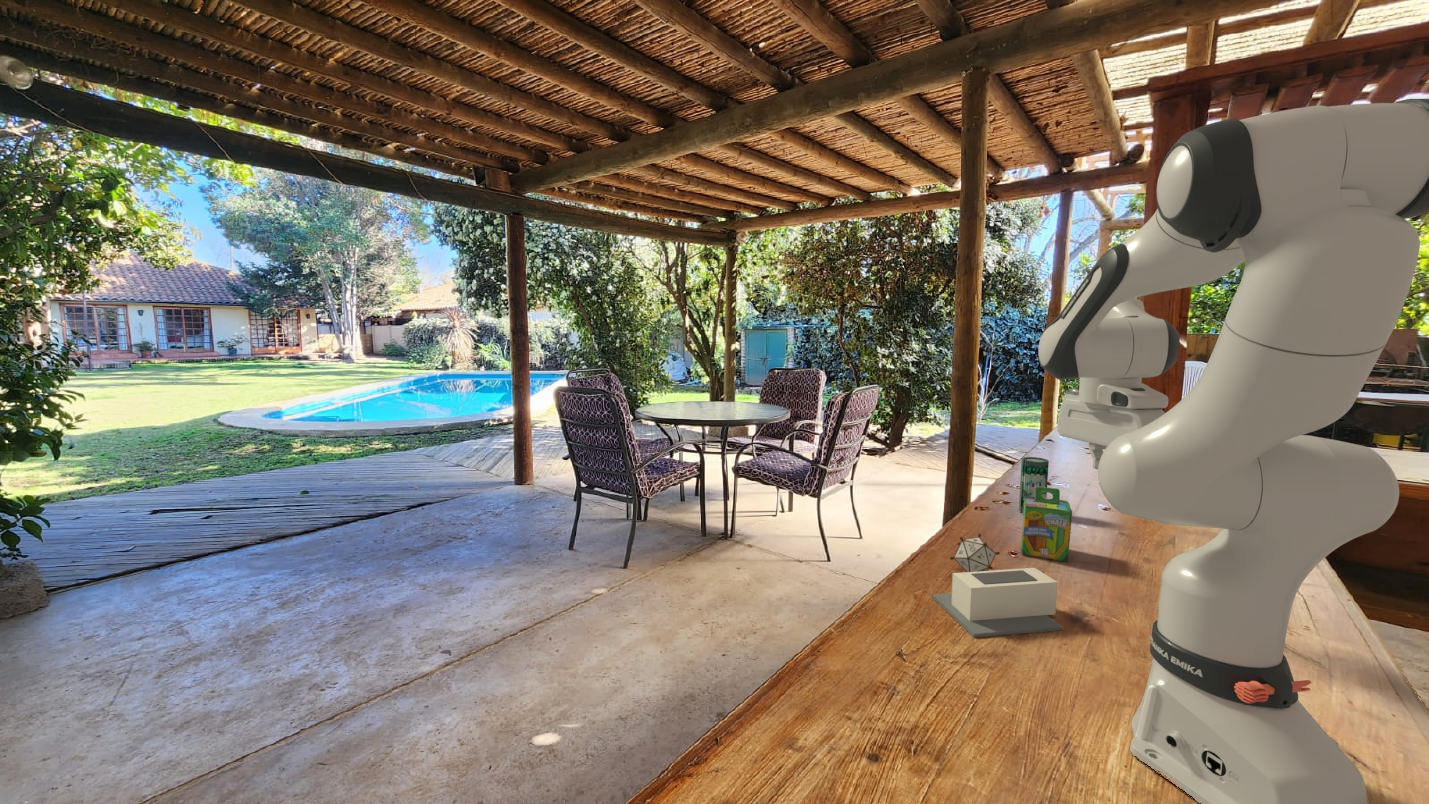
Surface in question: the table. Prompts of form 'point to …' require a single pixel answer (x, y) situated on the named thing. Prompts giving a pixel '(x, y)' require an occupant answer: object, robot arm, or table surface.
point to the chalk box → (1046, 526)
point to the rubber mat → (998, 621)
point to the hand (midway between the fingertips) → (1103, 470)
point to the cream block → (1003, 594)
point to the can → (1032, 478)
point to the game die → (974, 555)
